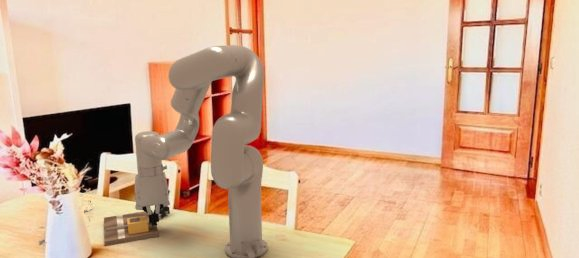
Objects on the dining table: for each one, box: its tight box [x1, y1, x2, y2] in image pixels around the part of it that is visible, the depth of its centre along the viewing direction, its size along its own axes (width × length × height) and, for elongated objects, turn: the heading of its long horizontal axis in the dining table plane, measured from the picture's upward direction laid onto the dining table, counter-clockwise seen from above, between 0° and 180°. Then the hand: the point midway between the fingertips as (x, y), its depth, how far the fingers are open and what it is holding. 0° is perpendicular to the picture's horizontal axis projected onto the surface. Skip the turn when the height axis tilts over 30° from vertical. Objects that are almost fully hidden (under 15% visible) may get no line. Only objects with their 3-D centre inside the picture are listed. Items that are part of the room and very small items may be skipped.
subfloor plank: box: [103, 211, 160, 247], centre depth 145 cm, size 20×16×2 cm
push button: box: [158, 189, 171, 220], centre depth 154 cm, size 7×5×10 cm
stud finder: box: [127, 216, 149, 235], centre depth 140 cm, size 5×6×4 cm
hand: (154, 224), depth 142 cm, fingers closed
